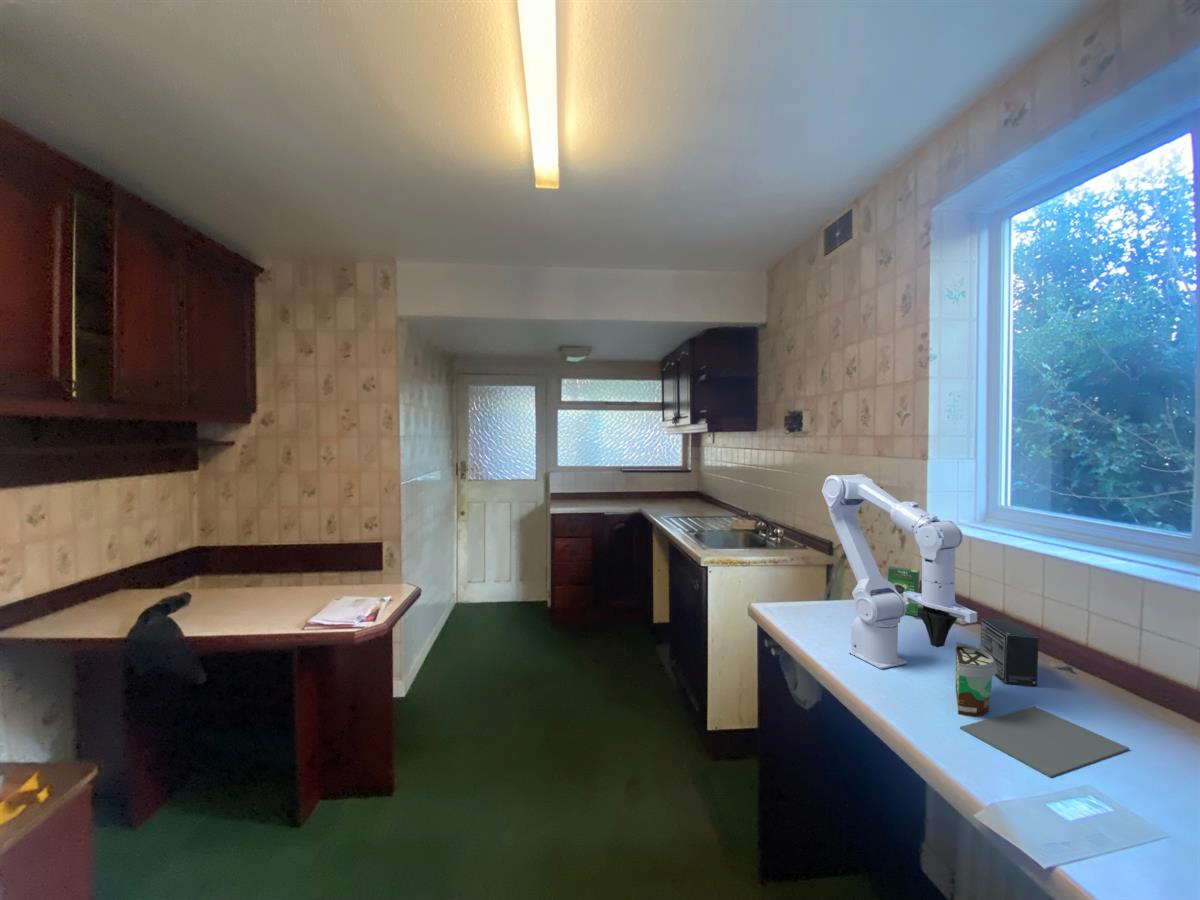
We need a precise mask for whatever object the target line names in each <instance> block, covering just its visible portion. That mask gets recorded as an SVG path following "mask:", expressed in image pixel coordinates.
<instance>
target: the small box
mask: <svg viewBox="0 0 1200 900" xmlns="http://www.w3.org/2000/svg"><path fill="white" fill-rule="evenodd" d="M980 629H981V630H980V631H981V632H980V649H981V650H983V651H985V652H987V653H988V654H990V655H991V656H992V657H993V660H994V661H995V664H996V668H997V673H996V674H995V675H994V677H995V676H996V678H997V679H998V680H1000V681H1001V682H1002V683H1003V684H1009V685H1021V686H1031V687H1032V686H1033V687H1038V667H1039V666H1038V664H1039V661H1038V660H1039V639H1040V638H1039V637H1038V636H1037V635H1035V634H1034V633H1032V632H1030V631H1029V630H1027V629H1026V628H1024V627H1022V626H1020V625H1018V624H1017V623H1016V622H1014V621H1012V620H1009V619H997V618H984V617H981V618H980Z"/></svg>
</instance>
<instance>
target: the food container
mask: <svg viewBox="0 0 1200 900" xmlns="http://www.w3.org/2000/svg"><path fill="white" fill-rule="evenodd" d="M996 673H997V668H996V664H995V661H994V660H993V657H992V656H991V655H990V654H988V653H987V652H985V651H983V650H981V648H979V647H975V646H972V645H969V644H965V643H961V642H955V698H956V707H957V714H958V715H961V716H968V717H981V716H985V715H988V713H989V712H990V711H989V709H990V701H991V692H992V682H993V676H995V674H996Z"/></svg>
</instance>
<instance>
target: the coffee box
mask: <svg viewBox="0 0 1200 900" xmlns="http://www.w3.org/2000/svg"><path fill="white" fill-rule="evenodd" d="M887 570H888V571H887V580H888V581H889V582H891V583H892V584H893V585H894V587H895V589H896V590H897V592H898V593H899V594H900V595H901V596H902V597H903V592H907V591H912V592H915V593H919V592H920V590H919V589H920V570H919V569H912V568H911V569H910V568H903V567H899V566H898V567H897V566H888V569H887ZM905 604H906V613H905V615H906V616H910V615H911V617H918V615H919V614H918V610H919V605H918V604H915V603H912V602H906V601H905Z"/></svg>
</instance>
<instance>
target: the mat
mask: <svg viewBox="0 0 1200 900" xmlns="http://www.w3.org/2000/svg"><path fill="white" fill-rule="evenodd" d="M959 729H960V730H962V731H963V732H965V733H967V734H969V735H971V736H973V737H975V738H976V739H978V740H980V741H981V742H983V743H986V744H988V745H989V746H991V747H993V748H995V749H997V750H998V751H1000V752H1002V753H1004V754H1006V755H1008V756H1009V757H1012V758H1014V759H1015V760H1017V761H1019V762H1020V763H1022V764H1024V765H1026V766H1028V767H1029V768H1031V769H1034V770H1036V771H1037V772H1039V773H1041V774H1043V775H1045V776H1046V777H1048V778H1050V779H1051V778H1053V777H1056V776H1059V775H1063V774H1066V773H1067V772H1068V773H1069V772H1071V771H1073V770H1077V769H1079V768H1082V767H1086V766H1087V765H1090V764H1093V763H1096V762H1099V761H1102V760H1105V759H1108V758H1110V757H1112V756H1113V757H1114V756H1115V755H1118V754H1121V753H1124V752H1127V751H1130V747H1128V746H1127V745H1123V744H1122V743H1118V742H1116V741H1114V740H1111V739H1110V738H1107V737H1105V736H1103V735H1100V734H1098V733H1097V732H1094V731H1091V730H1089V729H1087V728H1085V727H1082V726H1080V725H1079V724H1075V723H1073V722H1071V721H1069V720H1066V719H1065V718H1063V717H1060V716H1058V715H1056V714H1053V713H1052V712H1048V711H1046V710H1043V709H1041V708H1039V707H1037V706H1035V705H1034V706H1030V707H1027V708H1023V709H1019V710H1016V711H1012V712H1009V713H1004V714H1001V715H997V716H993V717H991V718H990V717H989V718H987V719H983V720H980V721H976V722H972V723H969V724H965V725H962V726H959Z"/></svg>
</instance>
